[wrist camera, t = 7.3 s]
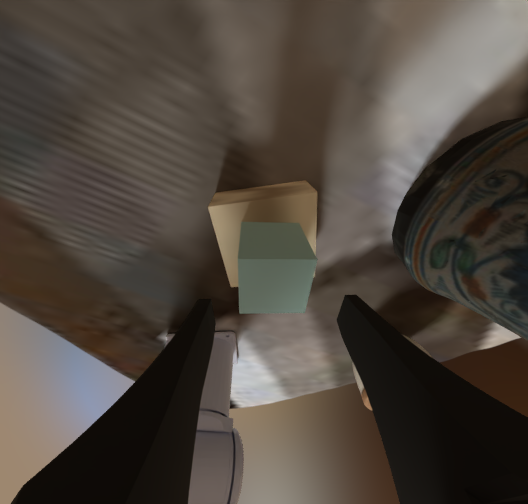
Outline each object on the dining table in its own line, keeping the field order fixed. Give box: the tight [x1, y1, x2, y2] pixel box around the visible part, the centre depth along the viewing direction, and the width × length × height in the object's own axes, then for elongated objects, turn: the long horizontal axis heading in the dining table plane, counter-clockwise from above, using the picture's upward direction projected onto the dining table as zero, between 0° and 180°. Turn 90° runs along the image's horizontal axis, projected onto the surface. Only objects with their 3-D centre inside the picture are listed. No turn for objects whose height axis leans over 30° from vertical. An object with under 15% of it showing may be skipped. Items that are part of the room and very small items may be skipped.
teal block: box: [238, 222, 317, 314], centre depth 14 cm, size 4×4×5 cm
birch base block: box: [208, 180, 317, 287], centre depth 18 cm, size 8×8×4 cm
